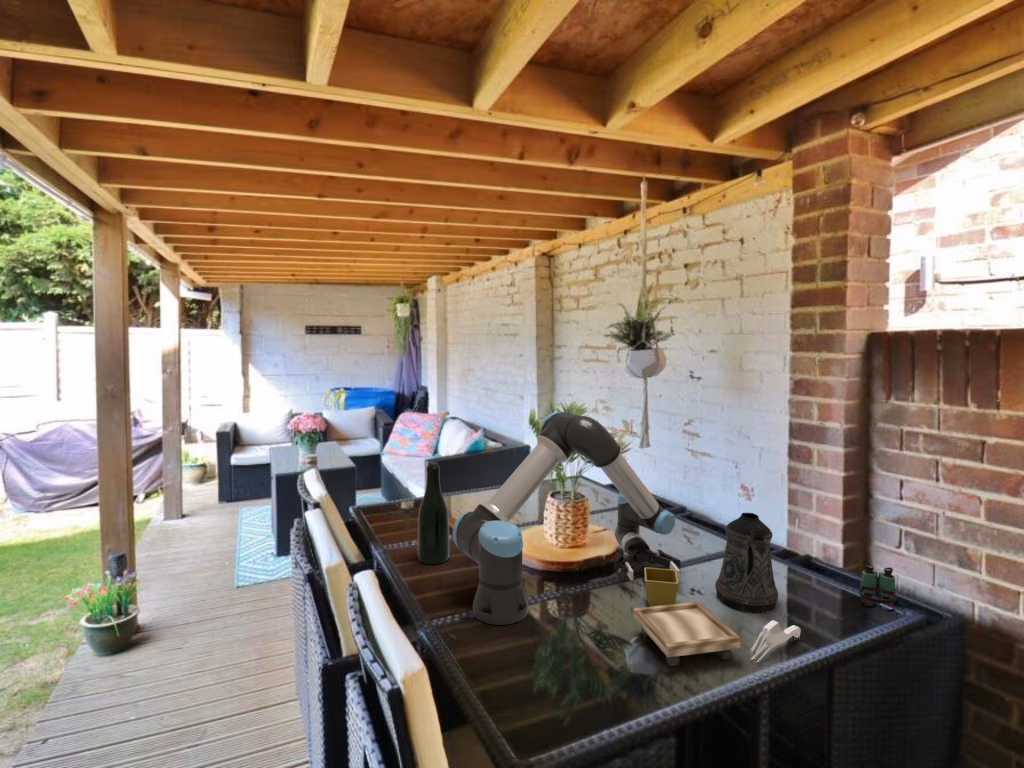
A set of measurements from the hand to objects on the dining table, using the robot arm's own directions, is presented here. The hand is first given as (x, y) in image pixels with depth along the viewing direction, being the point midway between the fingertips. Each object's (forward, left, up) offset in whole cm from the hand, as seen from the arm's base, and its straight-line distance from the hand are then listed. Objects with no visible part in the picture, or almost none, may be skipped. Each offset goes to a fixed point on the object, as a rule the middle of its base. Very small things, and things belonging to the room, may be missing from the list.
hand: (655, 575), depth 162 cm
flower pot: (-2, -6, -6) cm, 9 cm away
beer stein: (+24, -9, -6) cm, 27 cm away
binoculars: (+58, -18, -6) cm, 61 cm away
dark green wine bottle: (-61, +40, -6) cm, 73 cm away
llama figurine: (+15, -32, -6) cm, 36 cm away
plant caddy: (-6, -26, -6) cm, 28 cm away
